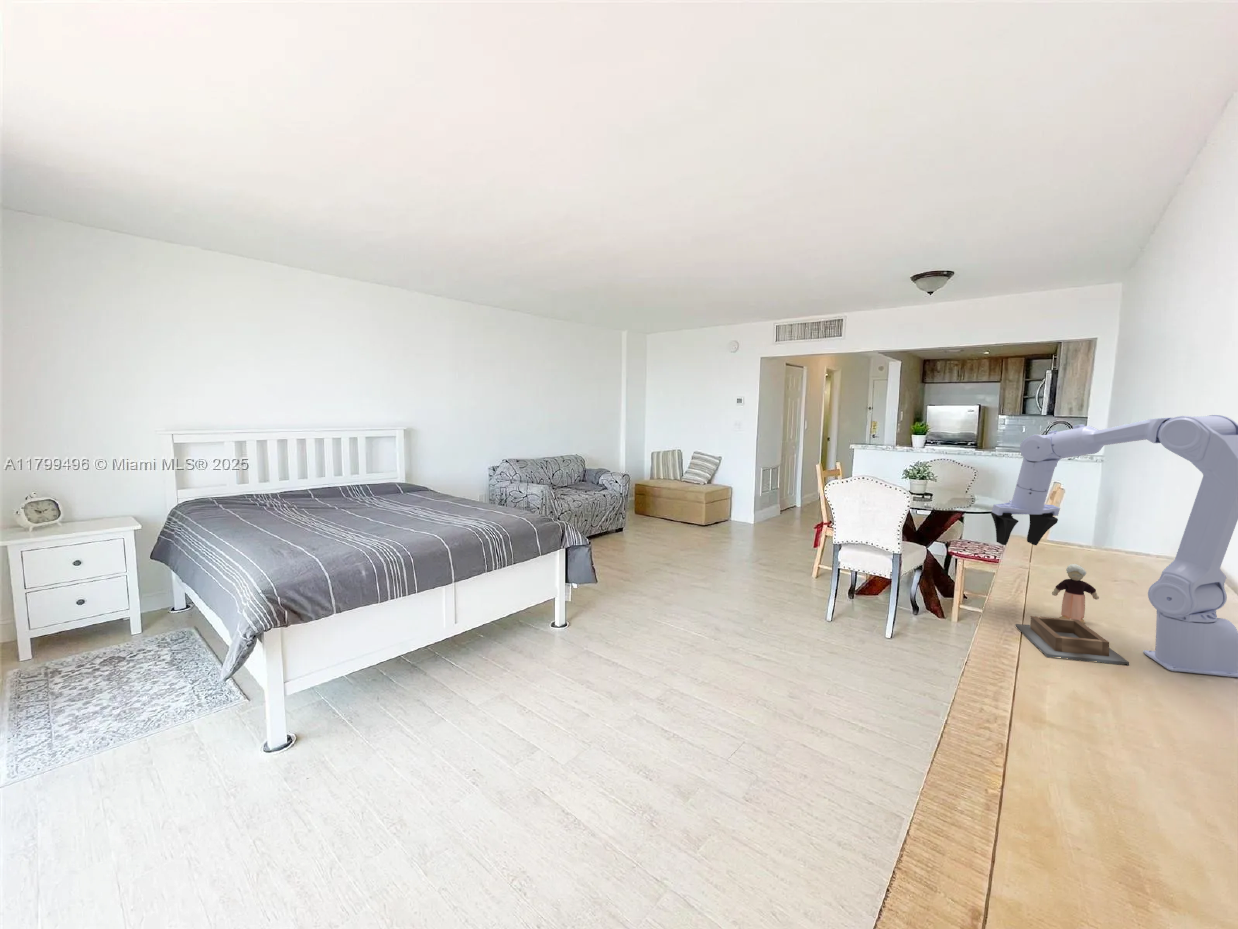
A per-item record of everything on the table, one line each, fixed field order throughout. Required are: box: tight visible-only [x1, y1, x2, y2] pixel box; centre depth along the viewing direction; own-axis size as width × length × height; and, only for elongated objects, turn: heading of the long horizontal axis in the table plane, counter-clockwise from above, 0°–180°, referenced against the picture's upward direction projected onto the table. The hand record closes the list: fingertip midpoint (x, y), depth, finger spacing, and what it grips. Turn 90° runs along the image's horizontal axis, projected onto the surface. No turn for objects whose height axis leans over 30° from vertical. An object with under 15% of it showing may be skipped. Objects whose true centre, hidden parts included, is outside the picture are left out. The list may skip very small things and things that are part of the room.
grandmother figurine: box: [1051, 563, 1100, 625], centre depth 114 cm, size 8×4×13 cm, turn 68°
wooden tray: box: [1014, 615, 1130, 666], centre depth 103 cm, size 12×16×3 cm
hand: (1016, 543), depth 120 cm, fingers open, 7 cm apart
